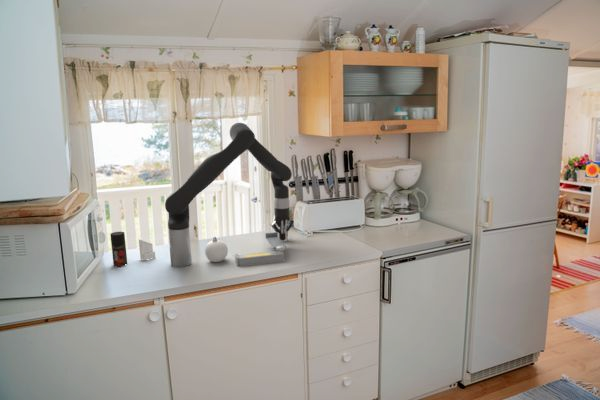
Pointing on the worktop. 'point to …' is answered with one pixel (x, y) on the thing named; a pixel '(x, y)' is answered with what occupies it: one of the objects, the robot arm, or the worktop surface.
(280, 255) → the grey tray
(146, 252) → the white wedge bracket
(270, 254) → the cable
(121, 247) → the deodorant
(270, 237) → the cover
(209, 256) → the ornament
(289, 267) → the worktop surface
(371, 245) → the worktop surface
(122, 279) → the worktop surface
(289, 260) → the worktop surface
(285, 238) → the milk bottle
